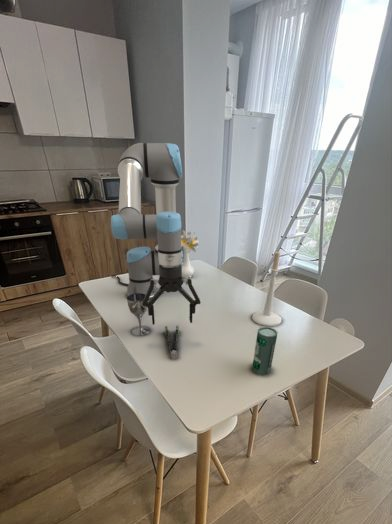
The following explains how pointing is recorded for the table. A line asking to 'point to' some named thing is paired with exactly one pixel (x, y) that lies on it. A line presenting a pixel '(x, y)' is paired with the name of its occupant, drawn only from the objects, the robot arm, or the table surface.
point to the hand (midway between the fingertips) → (172, 322)
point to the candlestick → (269, 300)
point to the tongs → (173, 352)
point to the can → (264, 350)
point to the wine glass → (137, 311)
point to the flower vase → (188, 245)
